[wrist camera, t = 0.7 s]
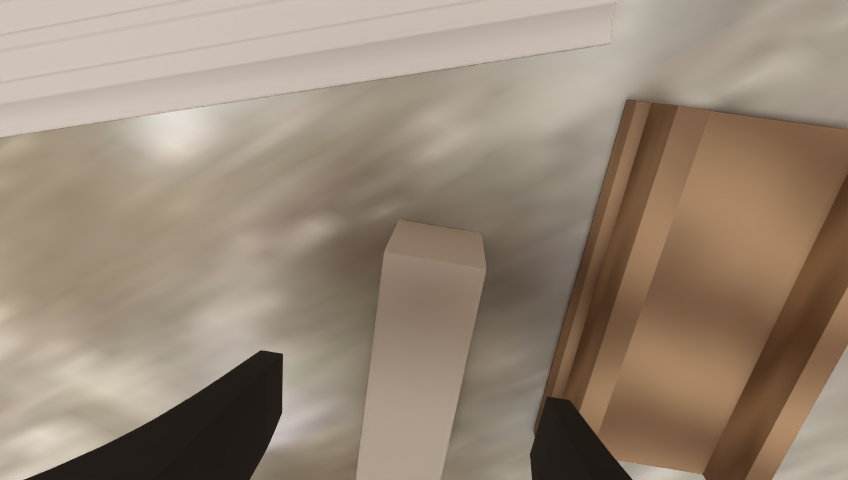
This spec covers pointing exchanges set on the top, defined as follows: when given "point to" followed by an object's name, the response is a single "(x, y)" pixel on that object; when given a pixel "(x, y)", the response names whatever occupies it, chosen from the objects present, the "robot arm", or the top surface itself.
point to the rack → (709, 290)
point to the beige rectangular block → (419, 349)
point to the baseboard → (253, 49)
